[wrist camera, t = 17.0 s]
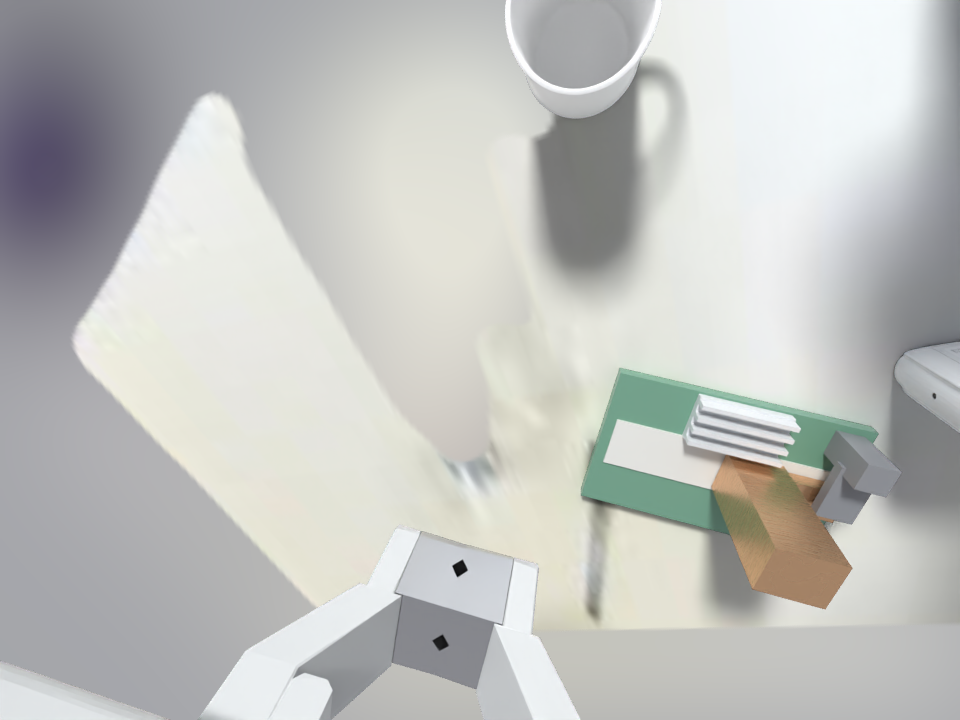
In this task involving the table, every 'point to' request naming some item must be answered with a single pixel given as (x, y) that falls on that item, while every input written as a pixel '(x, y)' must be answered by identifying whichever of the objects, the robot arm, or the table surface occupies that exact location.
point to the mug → (580, 49)
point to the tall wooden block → (779, 531)
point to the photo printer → (933, 380)
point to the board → (723, 451)
